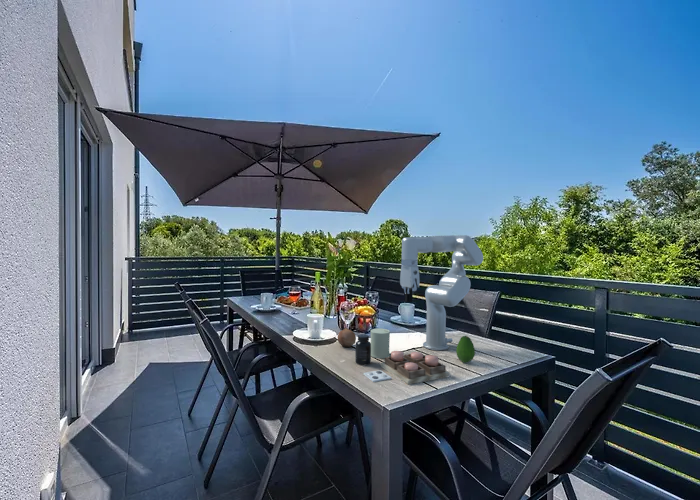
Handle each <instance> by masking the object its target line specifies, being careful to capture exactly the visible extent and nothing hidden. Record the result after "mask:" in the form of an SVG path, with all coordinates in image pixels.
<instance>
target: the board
mask: <svg viewBox="0 0 700 500" xmlns="http://www.w3.org/2000/svg"><path fill="white" fill-rule="evenodd" d="M425 356H426V355H425V354H423V358H422V359H416V360H415V359H413V358H411V353H405V354H404V360H402V361H394V360H392V359H391V356H389V357H386V358H384V362H381V363H380V367H381V368H382V369H384V370H385V371H386V372H388V373H390V374H392V375H393V376H394V377H396V378H398V379H399V380H400V381H401V382H403V383H405V384H407V385H411V384H419V383H422V382H427V381H432V380H433V381H434V380H437V379H444V378H448V376H449V377H450V372H449V371H447V370H446V369H447V365H445V364H443V363H441V362H439V361H438V365H437V366H430V365H427V364H425ZM408 362H412V363H416V364H418V370H414V371H408V370H406V369H405V363H408Z"/></svg>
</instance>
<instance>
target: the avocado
mask: <svg viewBox="0 0 700 500" xmlns="http://www.w3.org/2000/svg"><path fill="white" fill-rule="evenodd" d="M455 350H456V357H457V358H458V360H459V361H460V362H462V363H466V364H467V363H469V362H472V360H474V358H475V355H476V349H475V345H474V343H473V341H472V339H471V338H470V337H469V336H467V335H463V336H461V337H460V339H459V341H458V342H457V345H456V349H455Z"/></svg>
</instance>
